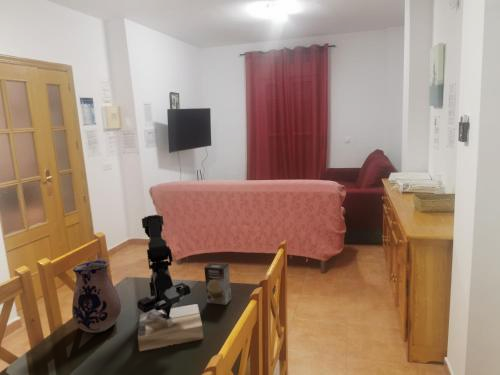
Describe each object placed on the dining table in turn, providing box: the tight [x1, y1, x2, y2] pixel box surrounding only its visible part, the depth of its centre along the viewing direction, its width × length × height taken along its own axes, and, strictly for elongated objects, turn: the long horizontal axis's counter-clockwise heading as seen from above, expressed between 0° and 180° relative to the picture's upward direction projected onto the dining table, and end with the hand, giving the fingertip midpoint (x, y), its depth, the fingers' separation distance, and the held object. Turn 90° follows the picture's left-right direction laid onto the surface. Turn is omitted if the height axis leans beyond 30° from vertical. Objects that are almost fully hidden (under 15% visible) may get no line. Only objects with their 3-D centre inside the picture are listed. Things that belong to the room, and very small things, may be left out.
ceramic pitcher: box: [71, 258, 122, 334], centre depth 150 cm, size 18×21×25 cm
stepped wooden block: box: [137, 313, 204, 352], centre depth 138 cm, size 10×22×8 cm, turn 103°
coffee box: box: [203, 261, 232, 306], centre depth 164 cm, size 9×6×16 cm
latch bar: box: [145, 309, 173, 328], centre depth 140 cm, size 14×3×3 cm, turn 48°
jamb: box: [139, 303, 200, 323], centre depth 147 cm, size 8×22×5 cm, turn 103°
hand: (167, 318), depth 140 cm, fingers closed
